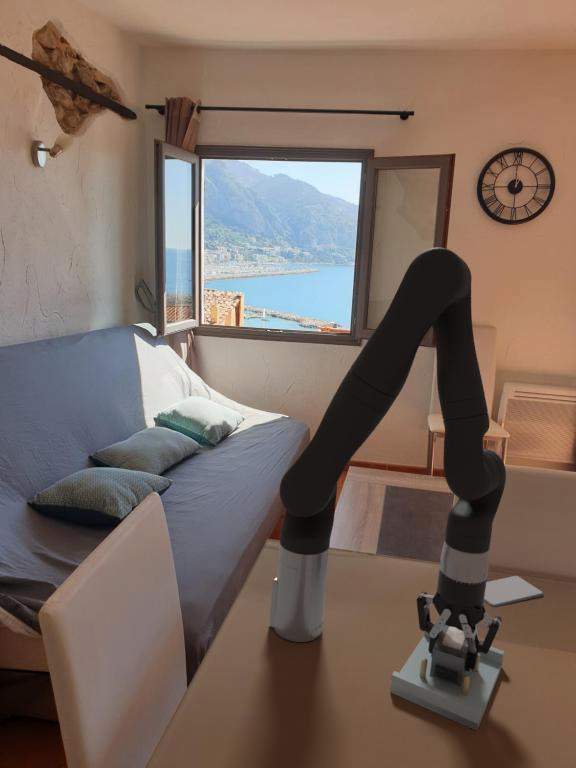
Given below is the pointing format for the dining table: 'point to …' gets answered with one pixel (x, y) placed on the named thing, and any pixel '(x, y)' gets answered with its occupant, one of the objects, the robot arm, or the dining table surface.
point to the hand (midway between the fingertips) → (451, 661)
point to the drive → (449, 656)
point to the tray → (449, 685)
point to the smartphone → (509, 591)
